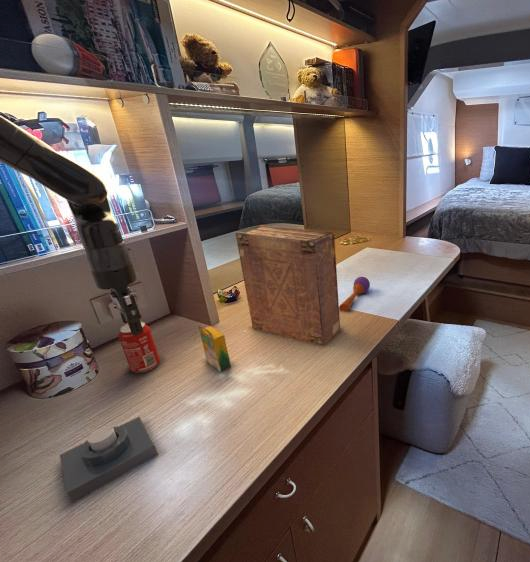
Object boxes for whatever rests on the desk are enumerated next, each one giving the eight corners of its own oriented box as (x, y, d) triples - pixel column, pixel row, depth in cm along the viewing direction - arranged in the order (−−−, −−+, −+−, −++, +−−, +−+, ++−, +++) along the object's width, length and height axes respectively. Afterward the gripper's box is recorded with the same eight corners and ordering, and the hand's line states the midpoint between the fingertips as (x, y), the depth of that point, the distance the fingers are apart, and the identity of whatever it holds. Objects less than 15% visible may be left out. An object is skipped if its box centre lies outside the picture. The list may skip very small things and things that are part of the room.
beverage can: (157, 357, 90) (144, 317, 85) (163, 367, 86) (150, 326, 81) (129, 367, 86) (114, 326, 81) (134, 379, 82) (119, 336, 77)
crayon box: (232, 368, 85) (223, 328, 80) (220, 374, 83) (210, 333, 78) (218, 357, 89) (208, 318, 85) (206, 363, 87) (196, 323, 83)
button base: (74, 505, 53) (62, 483, 51) (65, 467, 60) (54, 446, 58) (159, 457, 61) (151, 436, 59) (143, 427, 68) (136, 408, 66)
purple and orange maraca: (333, 300, 110) (355, 274, 127) (338, 316, 112) (359, 288, 129) (349, 300, 108) (369, 273, 125) (354, 315, 110) (373, 287, 127)
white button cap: (93, 455, 56) (89, 446, 55) (89, 443, 59) (85, 434, 58) (119, 442, 59) (115, 433, 58) (114, 431, 61) (111, 422, 60)
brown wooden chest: (252, 329, 102) (234, 232, 90) (272, 316, 110) (258, 224, 98) (324, 347, 92) (314, 241, 81) (340, 331, 100) (334, 232, 88)
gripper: (84, 261, 77) (108, 323, 83) (96, 276, 68) (121, 345, 74) (123, 253, 82) (143, 312, 88) (139, 266, 73) (159, 331, 79)
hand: (133, 327), depth 81 cm, fingers open, 8 cm apart
